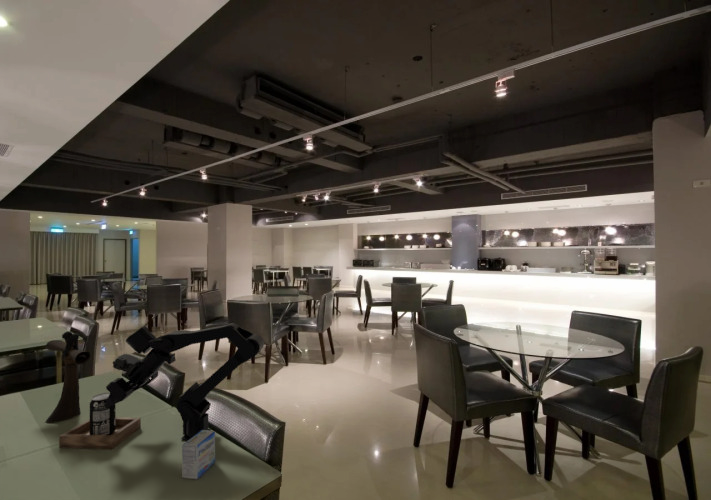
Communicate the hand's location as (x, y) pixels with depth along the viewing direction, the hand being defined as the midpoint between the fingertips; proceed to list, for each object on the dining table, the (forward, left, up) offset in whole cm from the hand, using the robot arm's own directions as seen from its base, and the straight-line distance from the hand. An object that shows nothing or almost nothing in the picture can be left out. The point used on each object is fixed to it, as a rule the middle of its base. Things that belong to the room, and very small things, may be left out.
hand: (115, 400), depth 109 cm
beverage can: (+4, 0, -11) cm, 11 cm away
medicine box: (-35, +14, -12) cm, 40 cm away
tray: (+4, 0, -12) cm, 12 cm away
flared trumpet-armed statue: (+29, -12, -12) cm, 34 cm away
